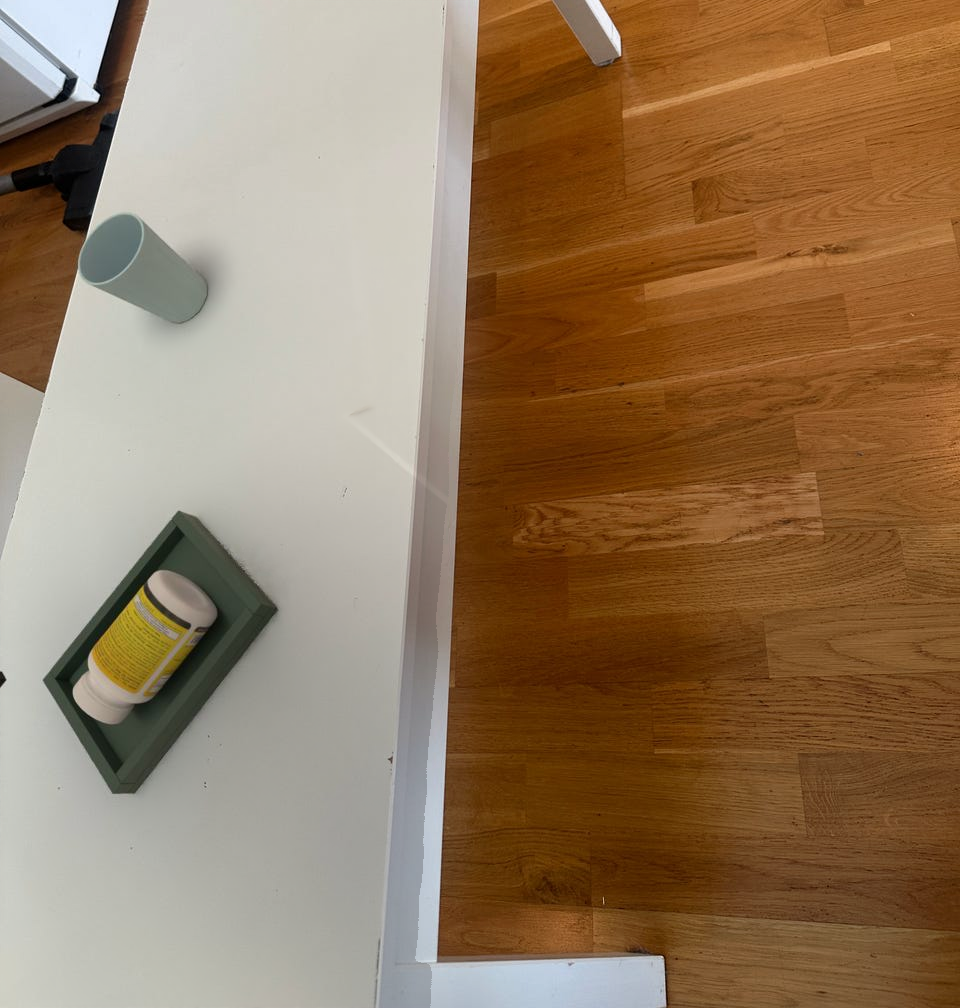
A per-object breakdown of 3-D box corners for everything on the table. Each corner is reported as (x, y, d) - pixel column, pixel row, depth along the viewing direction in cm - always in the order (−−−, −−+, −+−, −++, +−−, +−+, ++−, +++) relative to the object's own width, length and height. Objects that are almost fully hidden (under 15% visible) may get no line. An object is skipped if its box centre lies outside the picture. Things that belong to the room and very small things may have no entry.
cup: (143, 309, 91) (65, 260, 82) (192, 254, 91) (119, 199, 83) (177, 346, 87) (99, 298, 78) (229, 288, 87) (156, 234, 79)
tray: (134, 793, 69) (112, 794, 67) (63, 682, 76) (41, 680, 74) (278, 608, 70) (261, 603, 68) (195, 516, 77) (178, 509, 75)
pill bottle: (145, 557, 70) (53, 669, 69) (173, 603, 65) (75, 723, 64) (202, 581, 74) (116, 686, 73) (232, 625, 70) (141, 738, 69)
